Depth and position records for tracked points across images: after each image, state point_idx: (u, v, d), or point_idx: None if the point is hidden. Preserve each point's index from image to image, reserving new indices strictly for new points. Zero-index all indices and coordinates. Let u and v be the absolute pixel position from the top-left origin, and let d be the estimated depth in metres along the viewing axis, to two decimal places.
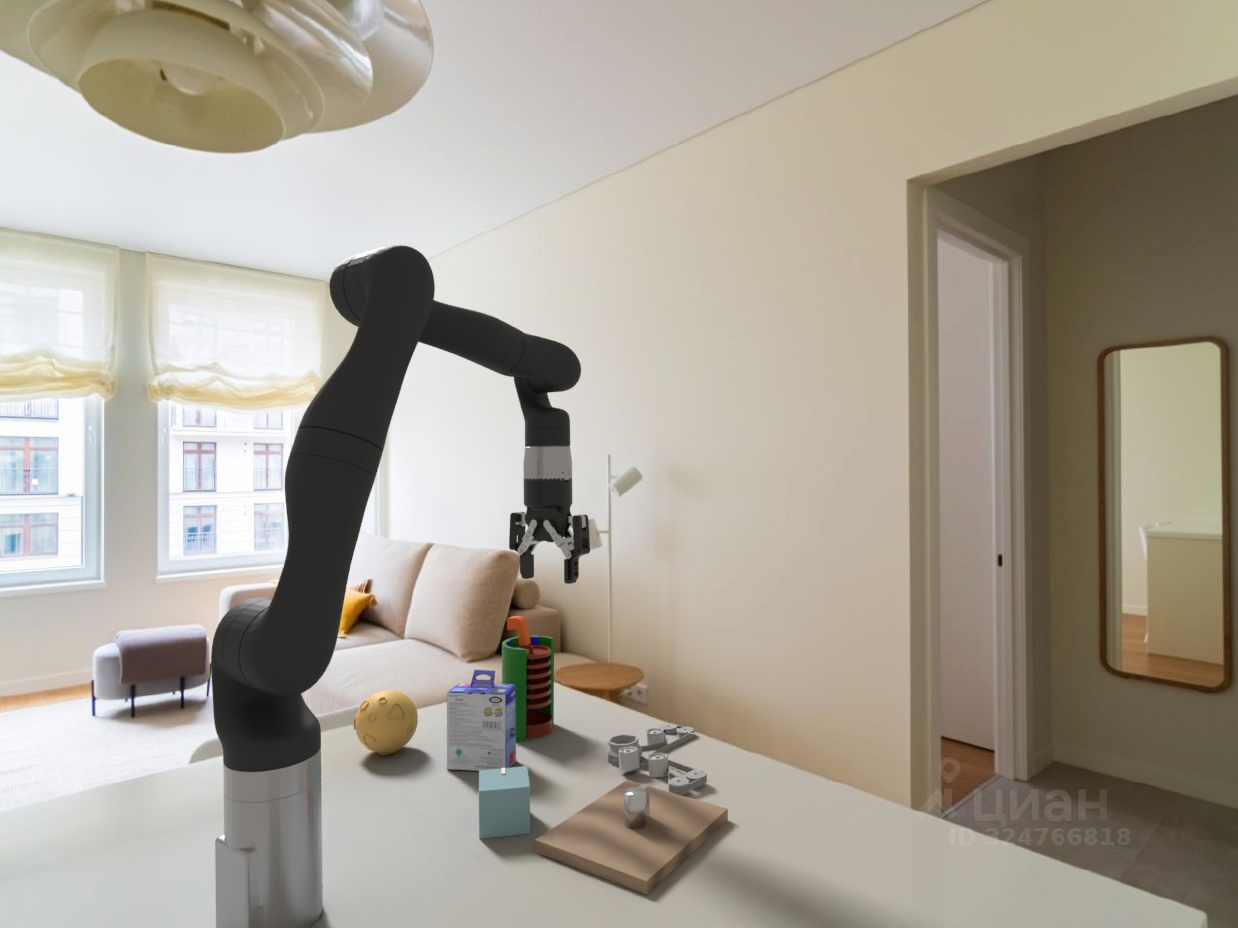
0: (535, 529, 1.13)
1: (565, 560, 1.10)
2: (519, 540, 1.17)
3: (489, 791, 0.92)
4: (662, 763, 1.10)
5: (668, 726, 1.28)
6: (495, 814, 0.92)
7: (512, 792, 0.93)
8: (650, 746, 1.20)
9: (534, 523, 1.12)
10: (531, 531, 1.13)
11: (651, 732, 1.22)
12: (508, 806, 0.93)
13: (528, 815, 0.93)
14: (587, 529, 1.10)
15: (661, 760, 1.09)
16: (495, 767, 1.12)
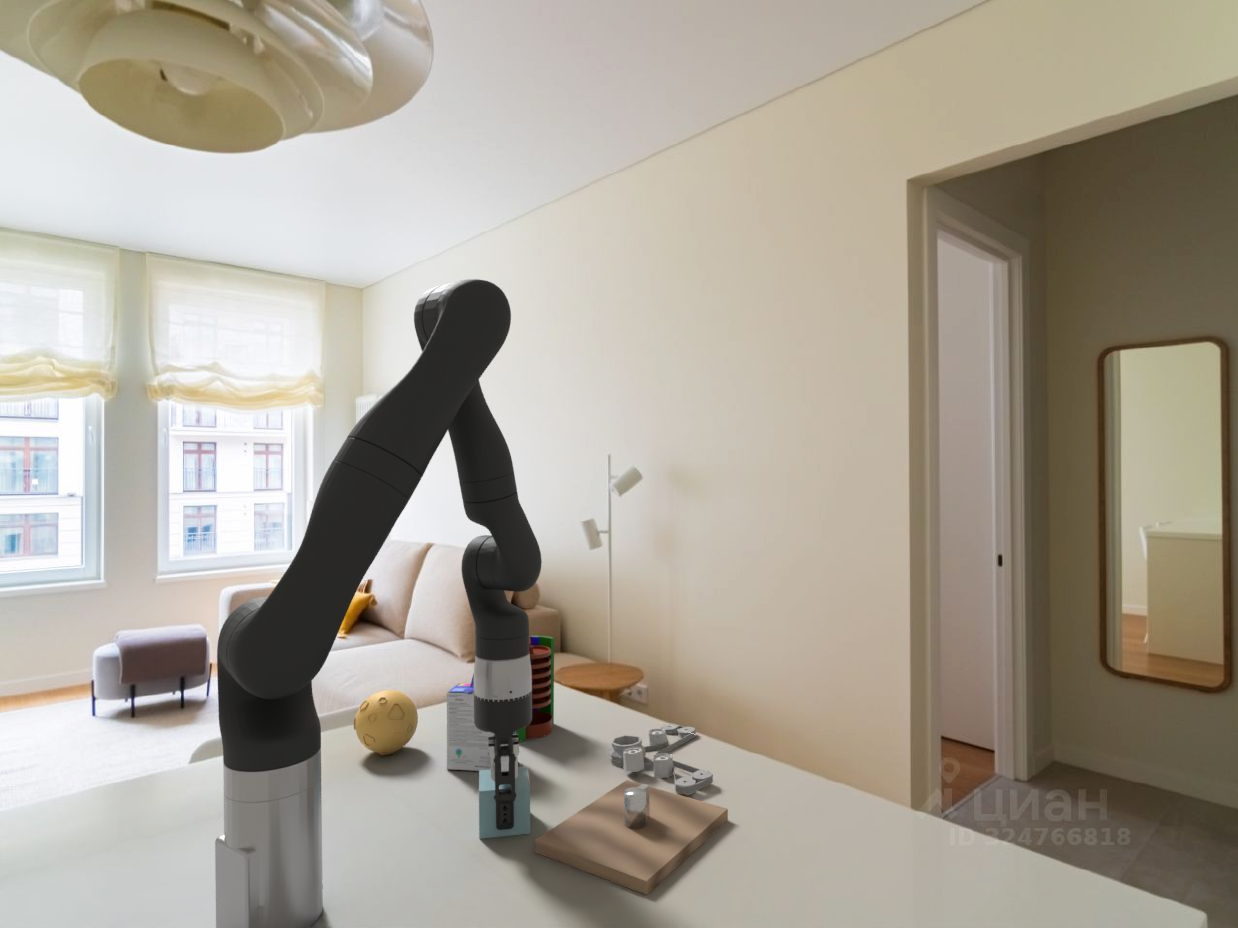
0: None
1: None
2: (498, 791, 0.90)
3: (489, 791, 0.92)
4: (667, 764, 1.09)
5: (669, 726, 1.28)
6: (495, 814, 0.92)
7: None
8: (653, 747, 1.20)
9: None
10: None
11: (653, 733, 1.22)
12: None
13: (528, 815, 0.93)
14: None
15: (666, 761, 1.09)
16: None
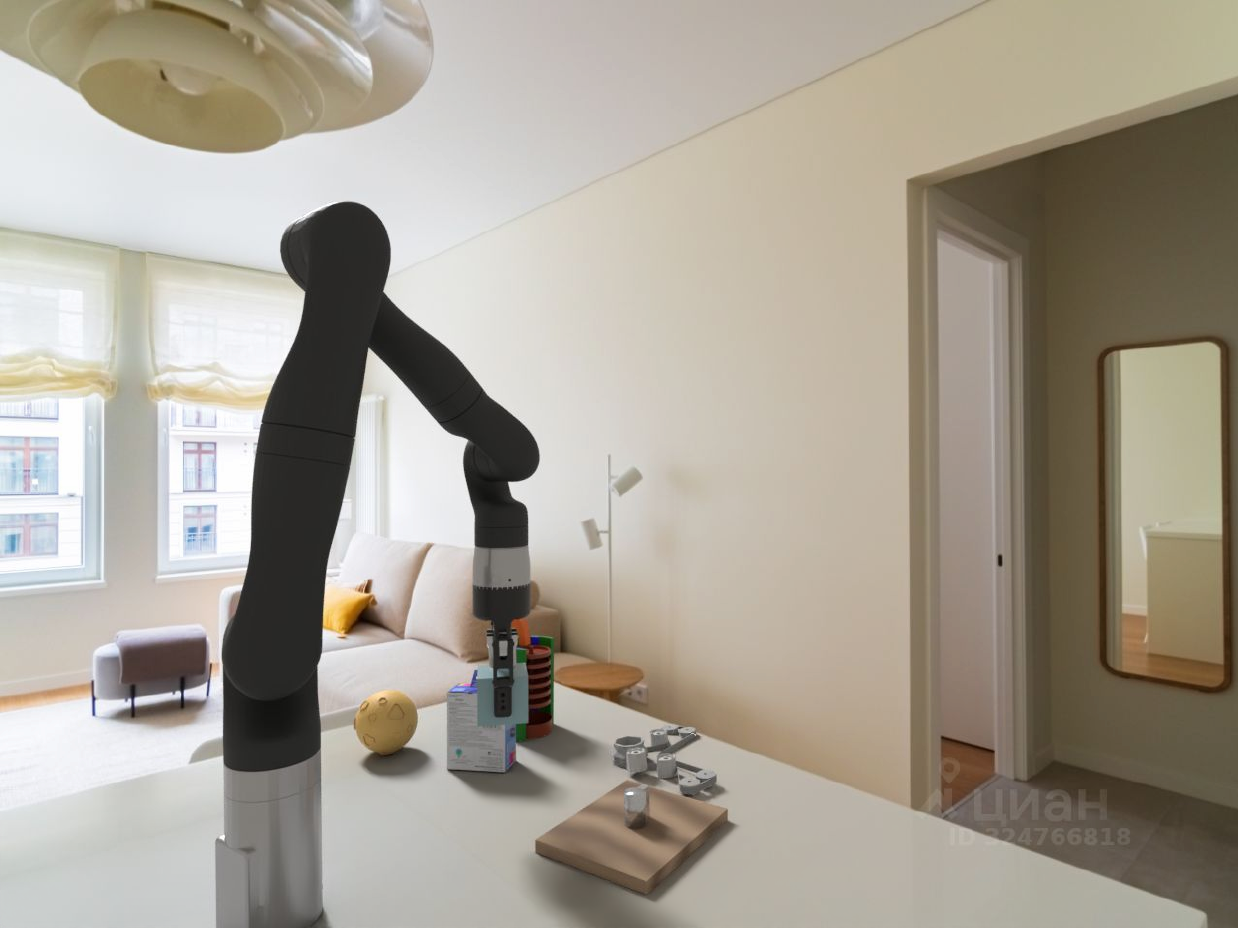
0: None
1: None
2: None
3: (487, 679, 0.92)
4: (671, 764, 1.09)
5: (669, 727, 1.28)
6: (493, 702, 0.92)
7: None
8: (654, 747, 1.20)
9: None
10: None
11: (654, 733, 1.22)
12: None
13: (526, 704, 0.93)
14: None
15: (670, 761, 1.09)
16: (495, 767, 1.12)
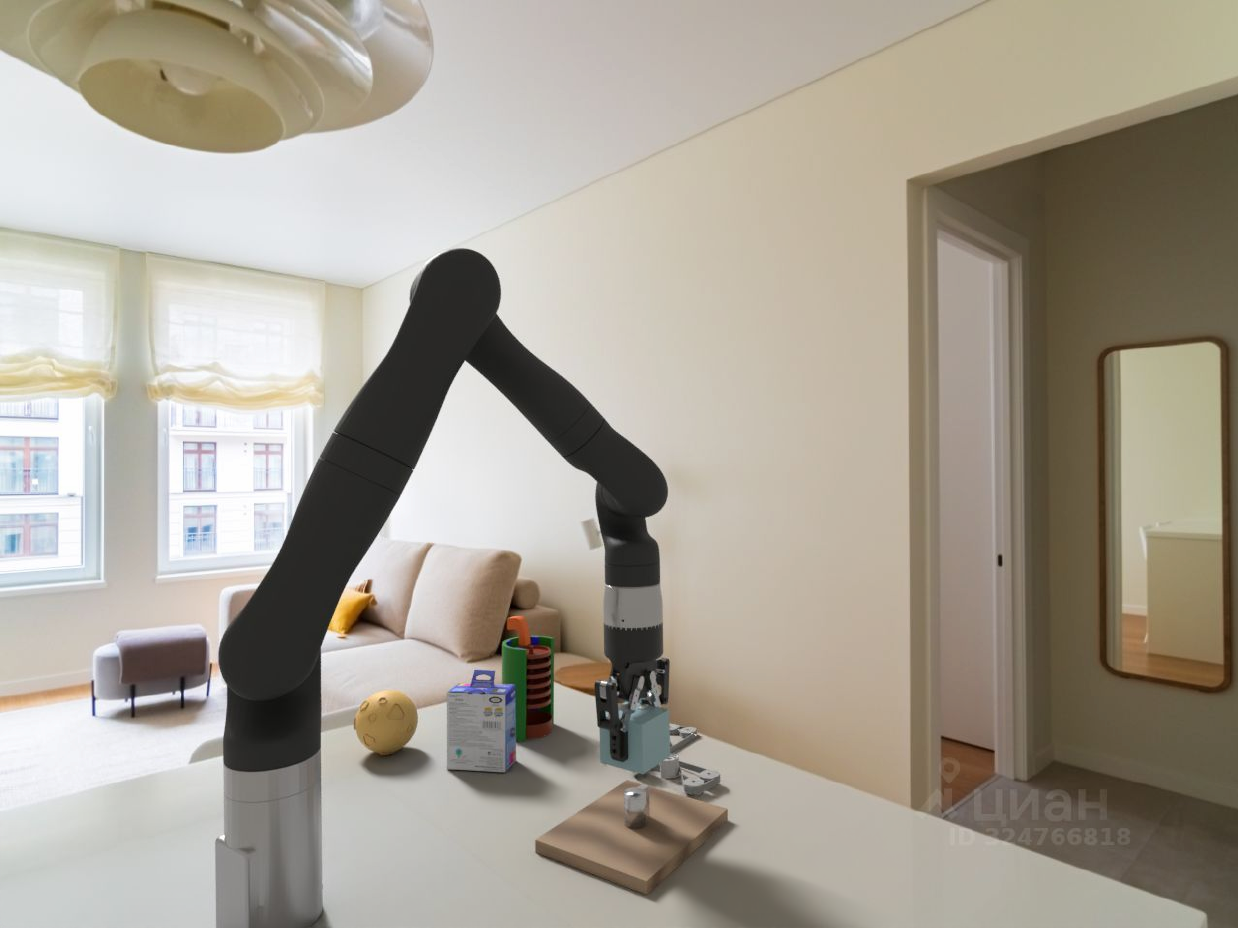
0: None
1: None
2: (602, 717, 0.88)
3: None
4: (674, 764, 1.09)
5: (670, 727, 1.28)
6: None
7: None
8: None
9: (642, 680, 0.90)
10: (637, 692, 0.90)
11: None
12: None
13: (641, 754, 0.88)
14: None
15: (673, 761, 1.09)
16: (495, 767, 1.12)
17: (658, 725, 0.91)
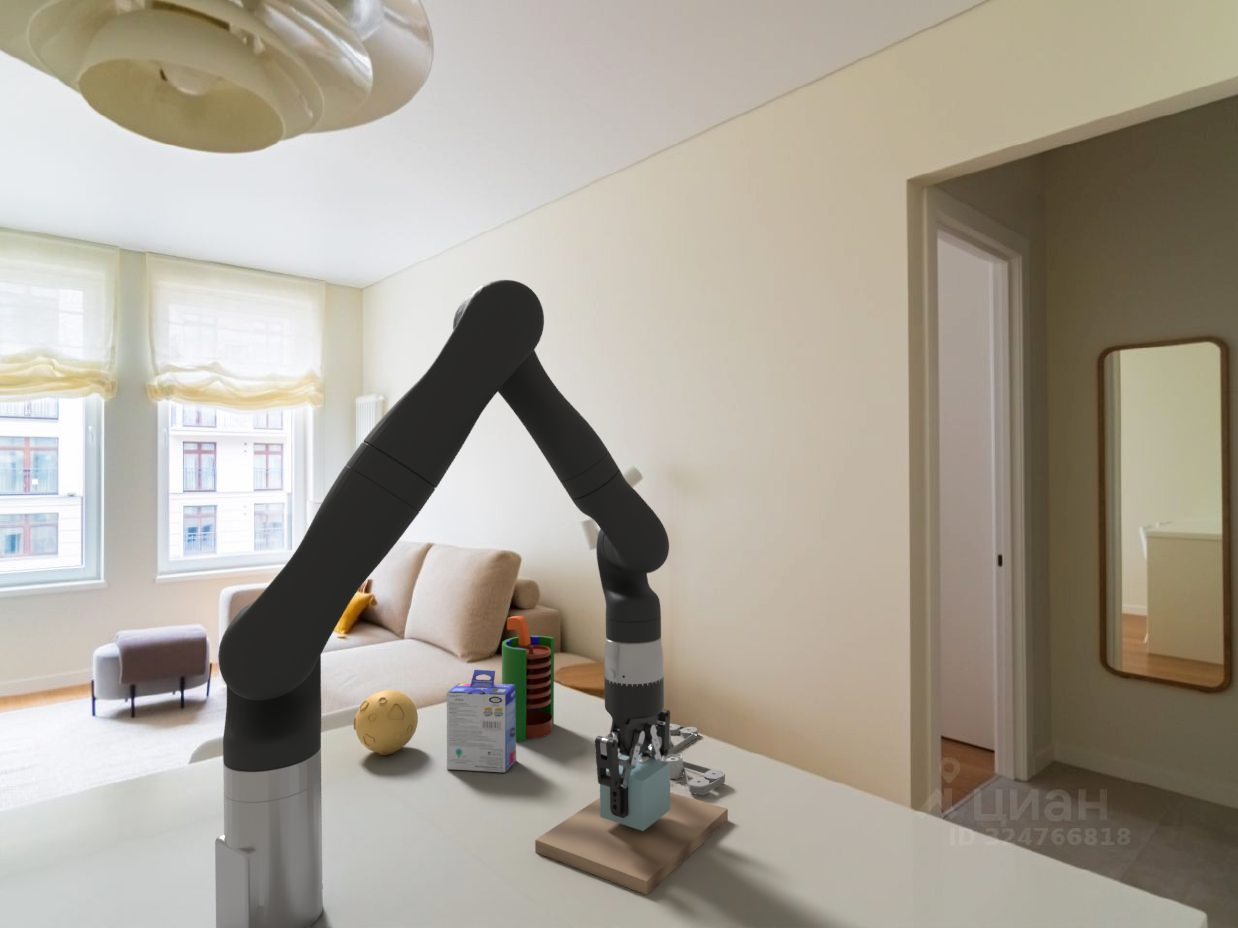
0: None
1: None
2: (603, 773, 0.88)
3: None
4: (678, 764, 1.09)
5: (671, 727, 1.28)
6: None
7: None
8: None
9: (642, 735, 0.90)
10: (638, 748, 0.90)
11: None
12: None
13: (641, 811, 0.88)
14: None
15: (677, 761, 1.09)
16: (495, 767, 1.12)
17: (659, 779, 0.91)
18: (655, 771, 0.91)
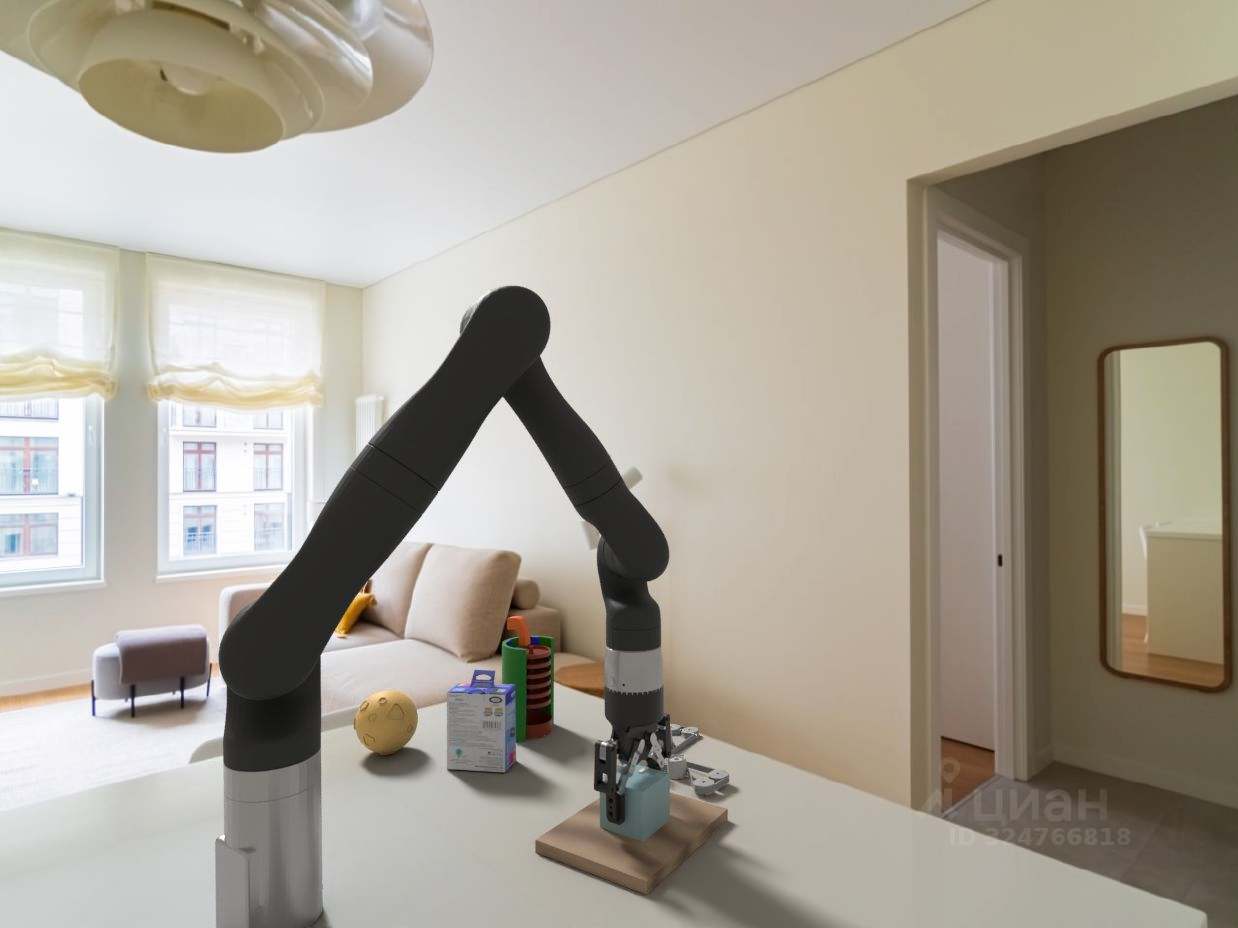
0: None
1: None
2: (599, 780, 0.87)
3: None
4: (682, 764, 1.09)
5: (671, 727, 1.28)
6: None
7: (627, 792, 0.89)
8: None
9: (642, 743, 0.90)
10: (637, 756, 0.90)
11: None
12: None
13: (641, 822, 0.88)
14: None
15: (681, 761, 1.09)
16: (495, 767, 1.12)
17: (658, 790, 0.91)
18: (655, 781, 0.91)
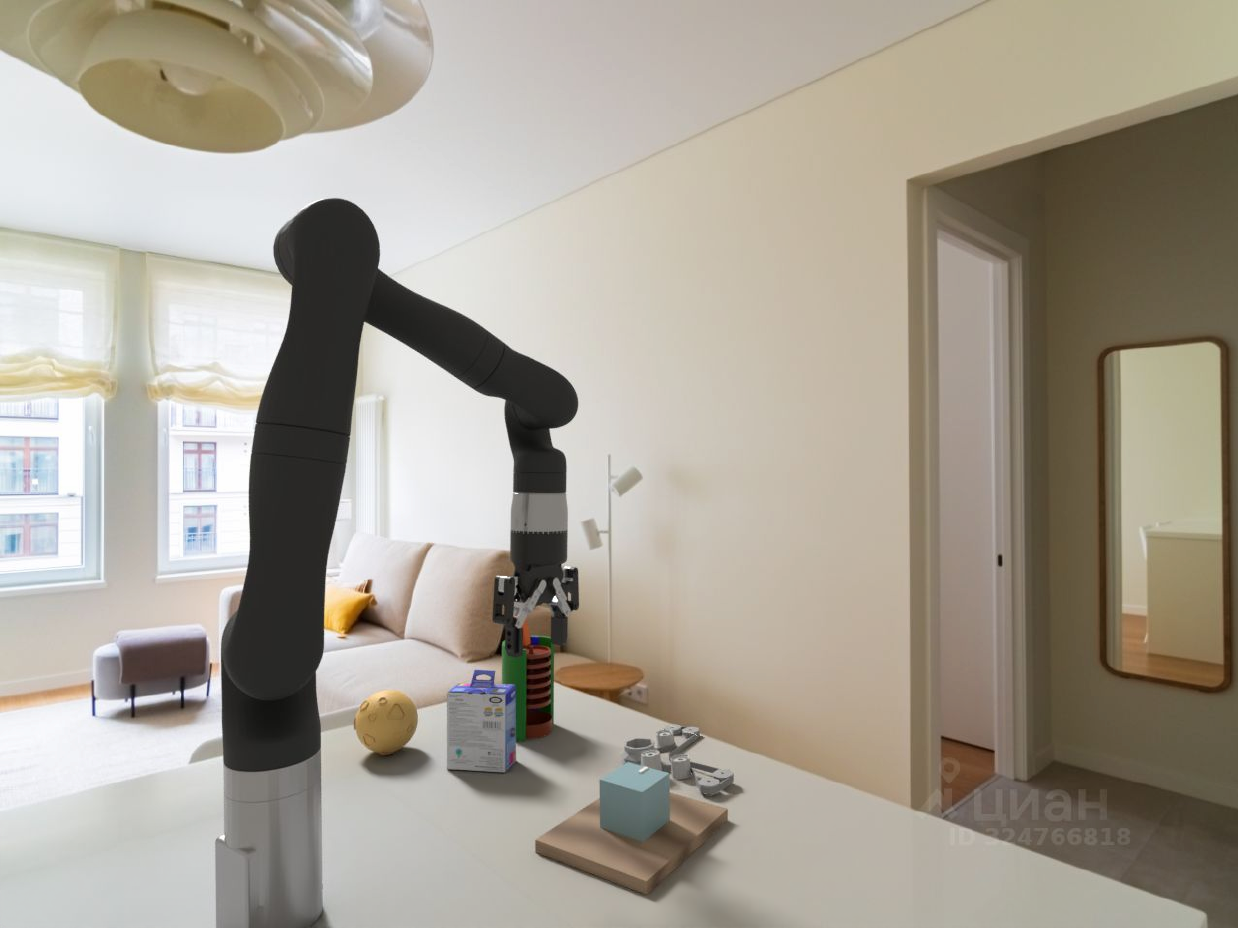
0: None
1: (564, 619, 0.99)
2: (497, 612, 0.91)
3: (608, 783, 0.91)
4: (686, 764, 1.09)
5: (672, 727, 1.28)
6: (613, 808, 0.91)
7: (627, 792, 0.89)
8: (662, 748, 1.19)
9: (543, 584, 0.94)
10: (537, 595, 0.94)
11: (661, 734, 1.22)
12: (623, 805, 0.90)
13: (641, 822, 0.88)
14: None
15: (685, 762, 1.09)
16: (495, 767, 1.12)
17: (658, 790, 0.91)
18: (655, 781, 0.91)
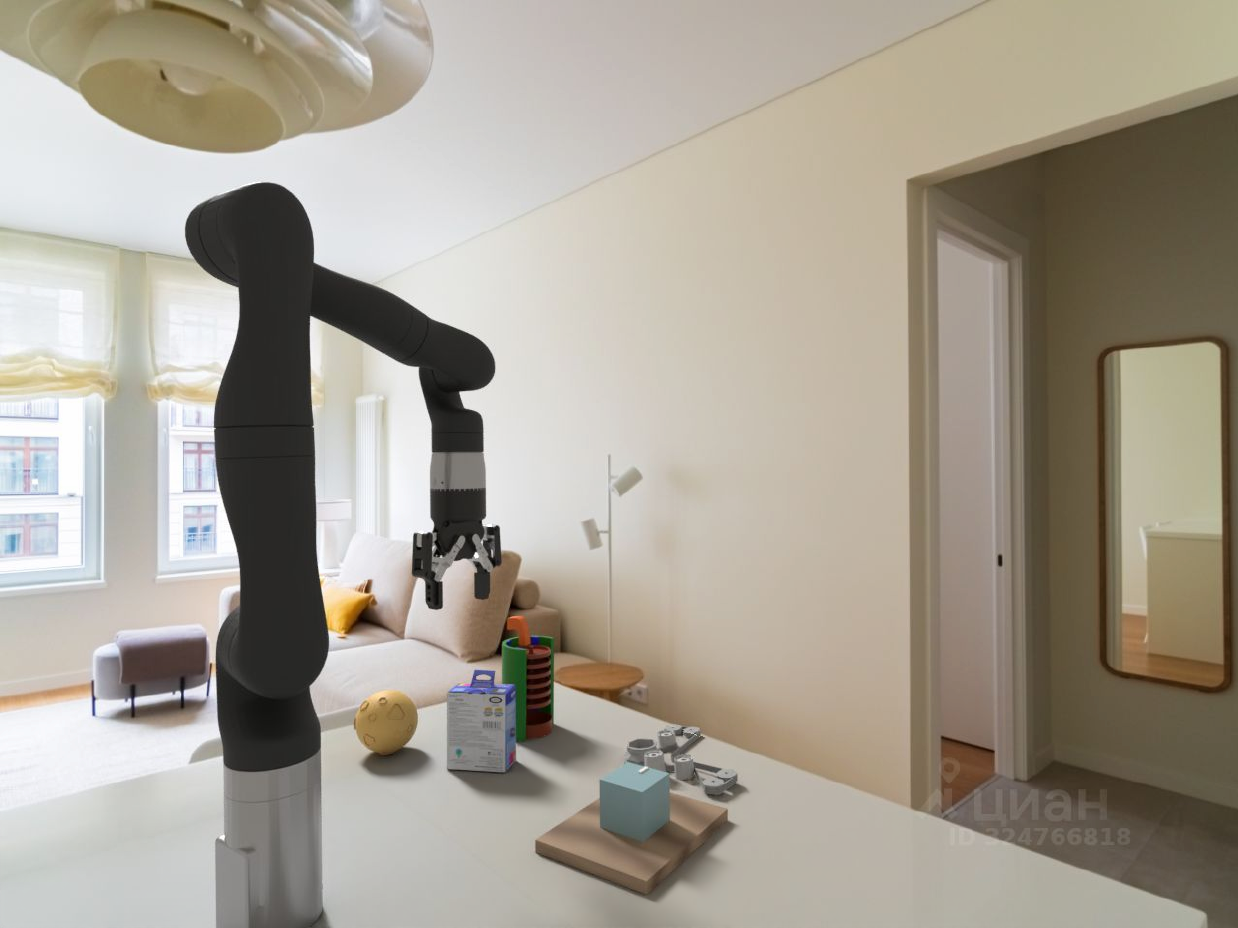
0: None
1: (486, 574, 1.03)
2: (417, 566, 0.95)
3: (608, 783, 0.91)
4: (690, 765, 1.09)
5: (672, 727, 1.28)
6: (613, 808, 0.91)
7: (627, 792, 0.89)
8: (664, 748, 1.19)
9: (462, 540, 0.98)
10: (456, 550, 0.98)
11: (662, 734, 1.21)
12: (623, 805, 0.90)
13: (641, 822, 0.88)
14: None
15: (689, 762, 1.09)
16: (495, 767, 1.12)
17: (658, 790, 0.91)
18: (655, 781, 0.91)
